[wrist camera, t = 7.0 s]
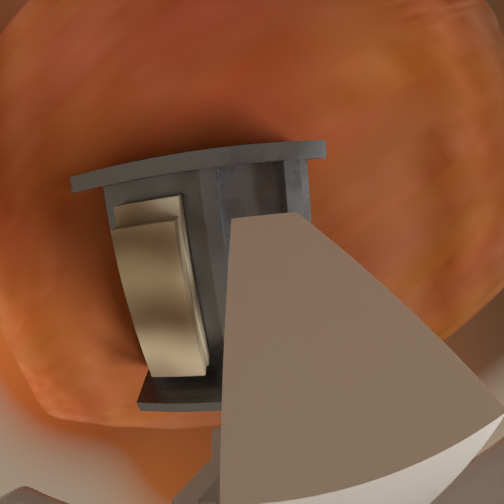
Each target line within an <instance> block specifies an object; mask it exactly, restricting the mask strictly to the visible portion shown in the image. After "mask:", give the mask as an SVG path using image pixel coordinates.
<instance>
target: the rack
mask: <svg viewBox="0 0 504 504" xmlns="http://www.w3.org/2000/svg"><path fill="white" fill-rule="evenodd" d="M320 158H327V155H326V144H325V140H312V141H289V142H272V143H259V144H248V145H238V146H228V147H220V148H212V149H204V150H197V151H190V152H184V153H177V154H171V155H166V156H160V157H154V158H149V159H144V160H139V161H134V162H129V163H125V164H120V165H116V166H112V167H107V168H103V169H99V170H95V171H91V172H87V173H84V174H80V175H76V176H73V177H70V181H71V189H72V193H76V192H81V191H86V190H91V189H96V188H101V187H103V190H104V197H105V203H106V209H107V215H108V221H109V227H110V230H112V229H114V228H115V227H117V225H116V219H115V213H114V206H117V205H120V204H123V203H128V202H134V201H140V200H145V199H152V198H158V197H164V196H171V195H178V194H182V196H183V204H184V211H185V218H186V225H187V232H188V238H189V245H190V251H191V257H192V263H193V269H194V275H195V280H196V286H197V292H198V297H199V302H200V307H201V313H202V318H203V323H204V327H205V332H206V337H207V342H208V346H209V351H210V358H209V365H207V366H206V374H205V376H182V377H152V376H151V373H150V370H148V373H147V375H146V378H145V381H144V383H143V386H142V389H141V392H140V395H139V397H138V400H137V404H138V406H139V408H140V410H141V411H164V412H196V411H221V408H222V379H223V354H224V333H225V313H226V295H227V277H228V261H229V246H230V231H231V218H240V217H250V216H259V215H269V214H279V213H290V212H297V213H298V214H299V215H301V216H302V217H303V218H305V219H306V220H307V221H308V222H310V223H311V211H310V195H309V181H308V169H307V160H310V159H320Z"/></svg>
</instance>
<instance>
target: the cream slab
mask: <svg viewBox="0 0 504 504" xmlns="http://www.w3.org/2000/svg"><path fill="white" fill-rule="evenodd" d="M503 417H504V406H503V405H502V404H501V403H500V402H499V401H498V399H497V398H496V397H495V396H494V395H493V394H492V393H491V391H490V390H489V389H488V388H487V387H486V386H485V385H484V384H483V383H482V382H481V381H480V379H479V378H478V377H477V376H476V375H475V374H474V373H473V372H472V371H471V370H470V369H469V368H468V367H467V365H466V364H465V363H464V362H463V361H462V360H461V359H460V358H459V357H458V356H457V355H456V354H455V353H454V352H453V351H452V350H451V349H450V348H449V347H448V346H447V345H446V344H445V343H444V342H443V341H442V340H441V339H440V338H439V337H438V336H437V335H436V334H435V333H434V332H433V331H432V330H431V329H430V328H429V327H428V326H427V325H426V324H425V323H424V322H423V321H422V320H421V319H420V318H418V317H417V316H416V315H415V314H414V313H413V312H412V311H411V310H410V309H409V308H408V307H407V306H406V305H405V304H404V303H402V302H401V301H400V300H399V299H398V298H397V297H396V296H395V295H394V294H393V293H392V292H390V291H389V290H388V289H387V288H386V287H385V286H384V285H383V284H382V283H380V282H379V281H378V280H377V279H376V278H375V277H374V276H373V275H371V274H370V273H369V272H368V271H367V270H366V269H365V268H363V267H362V266H361V265H360V264H359V263H358V262H356V261H355V260H354V259H353V258H352V257H351V256H349V255H348V254H347V253H346V252H345V251H344V250H342V249H341V248H340V247H339V246H338V245H336V244H335V243H334V242H333V241H332V240H330V239H329V238H328V237H327V236H326V235H324V234H323V233H322V232H321V231H319V230H318V229H317V228H316V227H314V226H313V225H312V224H311V223H310V222H308V221H307V220H306V219H305V218H303V217H302V216H301V215H299V214H298V213H297V212H290V213H279V214H269V215H259V216H250V217H240V218H231V231H230V246H229V261H228V277H227V295H226V313H225V333H224V354H223V379H222V408H221V447H220V504H430V503H431V502H432V501H433V500H434V499H435V498H436V497H438V496H439V495H440V494H441V493H442V492H443V491H444V490H445V489H446V488H447V487H448V486H449V485H450V484H451V483H452V482H453V481H454V479H455V478H456V477H457V476H458V475H459V474H460V473H461V472H462V471H463V470H464V468H465V467H466V466H467V465H468V464H469V463H470V462H471V460H472V459H473V458H474V457H475V456H476V454H477V453H478V451H480V449H481V448H482V447H483V445H484V444H485V443H486V441H487V440H488V439H489V437H490V436H491V435H492V433H493V432H494V430H495V429H496V428H497V426H498V424H499V423H500V422H501V420H502V419H503Z"/></svg>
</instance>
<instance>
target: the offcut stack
mask: <svg viewBox="0 0 504 504" xmlns="http://www.w3.org/2000/svg"><path fill="white" fill-rule="evenodd" d="M114 213H115V219H116V225H117V227H115V228H114V229H112V230H110V232H111V237H112V242H113V247H114V252H115V256H116V261H117V265H118V269H119V274H120V278H121V282H122V285H123V289H124V293H125V297H126V300H127V304H128V307H129V311H130V314H131V317H132V321H133V324H134V327H135V330H136V333H137V336H138V339H139V342H140V345H141V348H142V351H143V354H144V357H145V360H146V362H147V365H148V368H149V370H150V373H151V376H152V377H182V376H205V374H206V366H207V365H209V358H210V351H209V346H208V342H207V337H206V332H205V327H204V323H203V318H202V313H201V307H200V302H199V297H198V292H197V286H196V280H195V275H194V269H193V263H192V257H191V251H190V245H189V238H188V232H187V225H186V218H185V211H184V204H183V196H182V194H178V195H171V196H164V197H158V198H152V199H145V200H140V201H134V202H128V203H123V204H120V205H117V206H114Z"/></svg>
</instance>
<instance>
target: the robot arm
mask: <svg viewBox="0 0 504 504" xmlns="http://www.w3.org/2000/svg"><path fill="white" fill-rule="evenodd" d="M220 447H221V427H214V428H213V432H212V451H211V461H207V462H206V463H205V464H204V466H203V467H202V468H201V469H200V470H199V471H198V472H197V474H196V475H195V476H194V477H193V478H192V479H191V480H190V481H189V482H188V483H187V485H186V486H185V487H184V488H183V489H182V490H181V491H180V492H179V493H178V494H177V495H176V496H175V497H174V498H173V500H172V504H220ZM0 504H68V503H65V502H63V501H60V500H57V499H55V498H53V497H50V496H48V495H46V494H43V493H41V492H39V491H37V490H35V489H33V488H30V487H27V486H23V487H20V488H17V489H15V490H13V491H11V492H9V493H7V494H5V495H3V496H2V497H1V498H0ZM430 504H504V437H503V438H502V439H500V440H499V441H498V442H496V443H495V444H494V445H492V446H491V447H490V448H489V449H487V450H485V451H484V452H482V453H481V454H479V455H478V456H476V457H475V458H473V459H472V460H471V462H470V463H469V464H468V465H467V466H466V467H465V468H464V470H463V471H462V472H461V473H460V474H459V475H458V476H457V477H456V478H455V479H454V481H453V482H452V483H451V484H450V485H449V486H448V487H447V488H446V489H445V490H444V491H443V492H442V493H441V494H440V495H439V496H438V497H436V498H435V499H434V500H433V501H432V502H431V503H430Z"/></svg>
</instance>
